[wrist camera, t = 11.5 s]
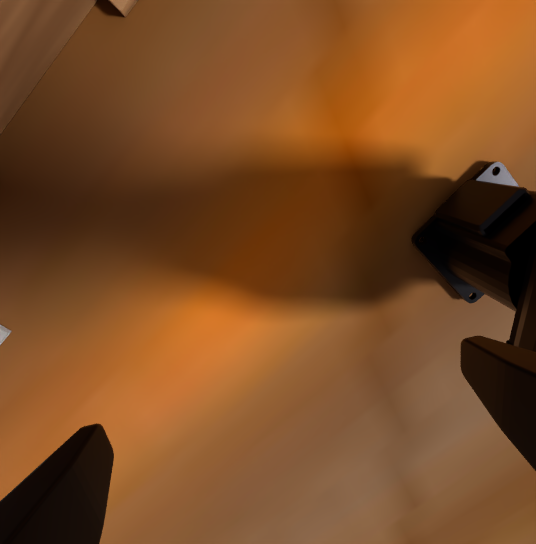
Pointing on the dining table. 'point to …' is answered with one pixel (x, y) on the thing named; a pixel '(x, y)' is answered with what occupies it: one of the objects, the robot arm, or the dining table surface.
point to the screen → (35, 43)
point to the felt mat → (3, 333)
